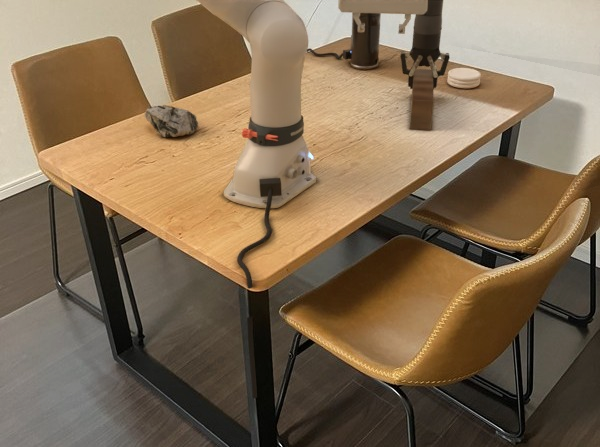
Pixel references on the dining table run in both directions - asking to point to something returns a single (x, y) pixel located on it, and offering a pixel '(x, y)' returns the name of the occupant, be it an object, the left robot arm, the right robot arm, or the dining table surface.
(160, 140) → the dining table surface
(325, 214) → the dining table surface
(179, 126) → the rock
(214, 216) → the dining table surface
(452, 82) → the coaster
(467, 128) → the dining table surface
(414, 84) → the bar
